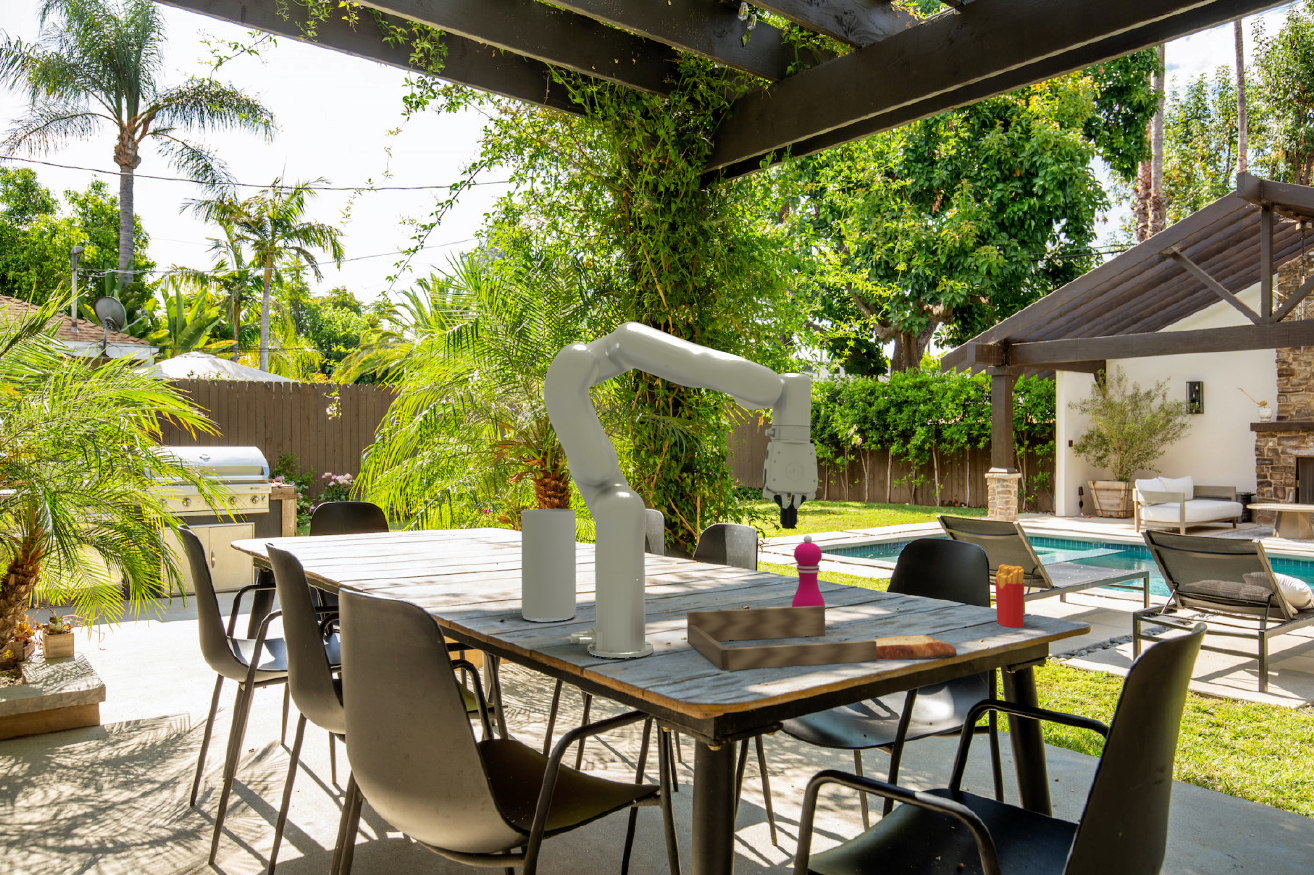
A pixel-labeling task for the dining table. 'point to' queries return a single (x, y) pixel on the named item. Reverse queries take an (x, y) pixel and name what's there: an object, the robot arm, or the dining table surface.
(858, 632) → the dining table surface
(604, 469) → the robot arm
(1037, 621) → the dining table surface
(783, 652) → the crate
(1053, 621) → the dining table surface
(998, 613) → the french fries
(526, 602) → the cylinder vase
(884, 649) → the bread slice
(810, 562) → the pepper mill
